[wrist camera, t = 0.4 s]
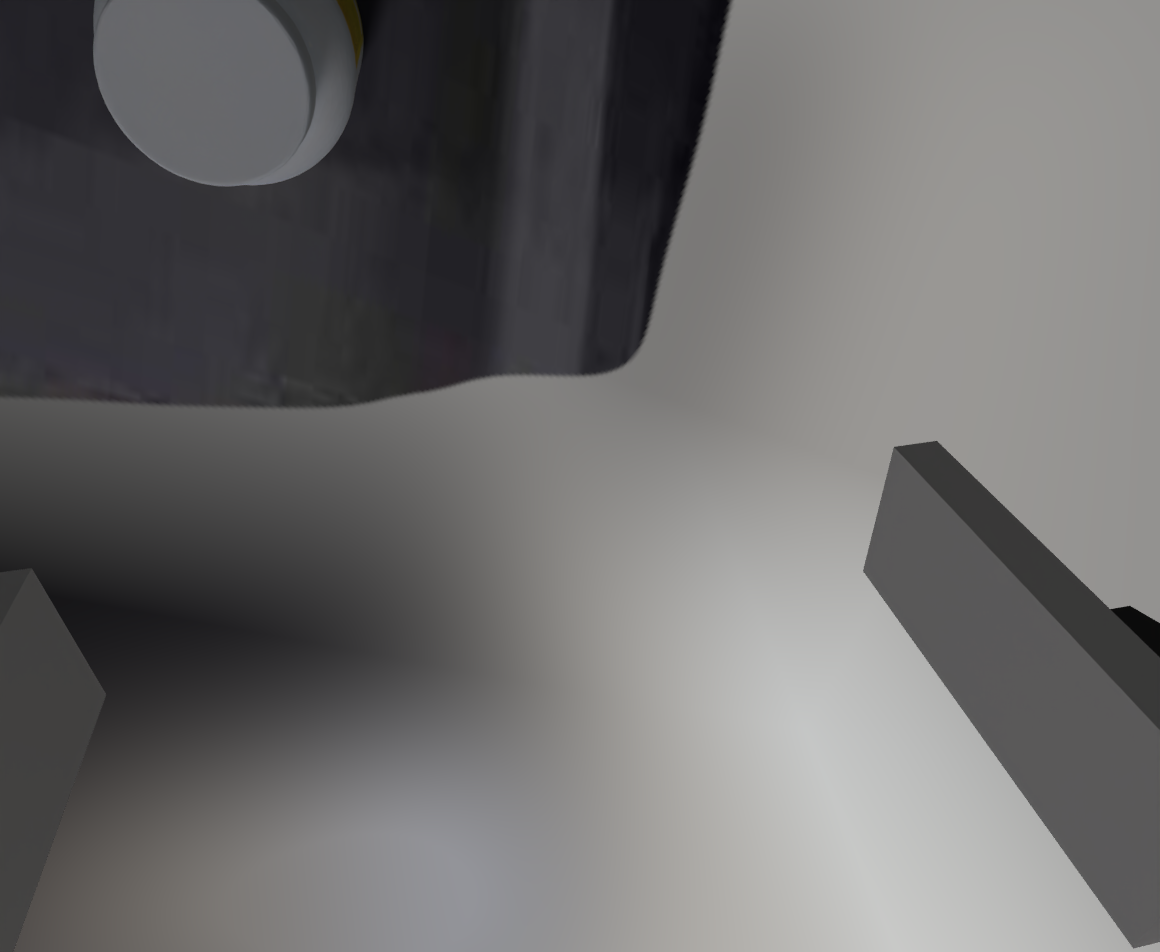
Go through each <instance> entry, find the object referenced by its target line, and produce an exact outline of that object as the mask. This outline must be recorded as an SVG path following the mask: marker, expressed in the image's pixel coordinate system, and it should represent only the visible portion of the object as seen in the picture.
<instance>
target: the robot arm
mask: <svg viewBox="0 0 1160 952" xmlns="http://www.w3.org/2000/svg"><path fill="white" fill-rule="evenodd" d="M863 571H864V573H865V574H866V576H867V577H868V578H869V580H870V581H871V583H872V584H873V585H874V587H875V588H876V590H877V591H878V592H879V594H880V595H881V597H882V598H883V599H884V601H885V602H886V603H887V605H888V606H889V608H890V609H891V611H892V612H893V613H894V615H895V616H896V618H897V619H898V620H899V622H900V623H901V625H902V626H903V627H904V629H905V630H906V632H907V633H908V634H909V636H910V637H911V638H912V640H913V641H914V643H915V644H916V645H917V647H918V648H919V650H920V651H921V652H922V654H923V655H924V657H925V658H926V659H927V661H928V662H929V664H930V665H931V666H932V668H933V669H934V671H935V672H936V673H937V675H938V676H939V678H940V679H941V680H942V682H943V683H944V685H945V686H946V687H947V689H948V690H949V692H950V693H951V694H952V696H953V697H954V699H955V700H956V701H957V703H958V704H959V705H960V707H961V708H962V710H963V711H964V712H965V714H966V715H967V717H968V718H969V719H970V721H971V722H972V724H973V725H974V726H975V728H976V729H977V730H978V732H979V733H980V735H981V736H982V738H983V739H984V740H985V742H986V743H987V745H988V746H989V747H990V749H991V750H992V751H993V753H994V754H995V756H996V757H997V758H998V760H999V761H1000V763H1001V764H1002V766H1003V767H1004V768H1005V770H1006V771H1007V773H1008V774H1009V775H1010V777H1011V778H1012V780H1013V781H1014V782H1015V784H1016V785H1017V787H1018V788H1019V789H1020V791H1021V792H1022V793H1023V795H1024V796H1025V798H1026V799H1027V800H1028V802H1029V803H1030V805H1031V806H1032V807H1033V809H1034V810H1035V812H1036V813H1037V814H1038V816H1039V817H1040V819H1041V820H1042V821H1043V823H1044V824H1045V826H1046V827H1047V828H1048V829H1049V831H1050V833H1051V834H1052V835H1053V837H1054V838H1055V840H1056V841H1057V842H1058V844H1059V845H1060V847H1061V848H1062V849H1063V851H1064V852H1065V854H1066V855H1067V856H1068V857H1069V859H1070V860H1071V862H1072V863H1073V865H1074V866H1075V867H1076V869H1077V870H1078V871H1079V873H1080V874H1081V876H1082V877H1083V879H1084V880H1085V881H1086V883H1087V884H1088V886H1089V887H1090V888H1091V890H1092V891H1093V893H1094V894H1095V895H1096V897H1097V898H1098V900H1099V901H1100V902H1101V904H1102V905H1103V907H1104V908H1105V909H1106V911H1107V912H1108V914H1109V915H1110V916H1111V918H1112V919H1113V921H1114V922H1115V923H1116V925H1117V926H1118V927H1119V929H1120V930H1121V932H1122V933H1123V934H1124V936H1125V937H1126V938H1127V940H1128V941H1129V943H1130V944H1131V945H1132V947H1133V948H1137V947H1141V946H1145V945H1149V944H1153V943H1157V942H1160V623H1159V622H1157V621H1155V620H1153V619H1152V618H1150V617H1148V616H1146V615H1145V614H1143V613H1141V612H1139V611H1138V610H1136V609H1134V608H1133V607H1131V606H1127V607H1121V608H1115V609H1109V608H1108V607H1107V606H1106V605H1105V604H1104V603H1103V602H1102V601H1101V600H1100V599H1099V598H1098V597H1097V596H1096V595H1095V594H1094V593H1093V592H1092V591H1091V590H1090V589H1089V588H1088V587H1087V586H1085V584H1083V582H1081V581H1080V580H1079V579H1078V578H1077V577H1076V576H1075V575H1074V574H1073V573H1072V572H1071V571H1070V570H1069V569H1068V568H1067V567H1066V566H1065V565H1064V564H1063V563H1062V562H1061V561H1060V560H1059V559H1058V558H1057V557H1056V556H1055V555H1054V554H1053V553H1052V552H1050V550H1048V549H1047V548H1046V547H1045V546H1044V545H1043V544H1042V543H1041V542H1040V541H1039V540H1038V539H1037V538H1036V537H1035V536H1034V535H1033V534H1032V533H1031V532H1030V531H1029V530H1028V529H1027V528H1026V527H1025V526H1024V525H1023V524H1022V523H1021V522H1020V521H1019V520H1018V519H1017V518H1015V516H1014V515H1012V514H1011V513H1010V512H1009V511H1008V510H1007V509H1006V508H1005V507H1004V506H1003V505H1002V504H1001V503H1000V502H999V501H998V500H997V499H996V498H995V497H994V496H993V495H992V494H991V493H990V492H989V491H988V490H987V489H986V488H985V487H984V486H983V485H982V484H981V483H980V482H978V481H977V480H976V479H975V478H974V477H973V476H972V475H971V474H970V473H969V472H968V471H967V470H966V469H965V468H964V467H963V466H962V465H961V464H960V463H959V462H958V461H957V460H956V459H955V458H954V457H953V456H952V455H951V454H950V453H949V452H947V450H946V449H944V448H943V447H942V446H941V445H940V444H939V443H938V442H937V441H933V442H926V443H919V444H912V445H905V446H898V447H894V449H893V453H892V457H891V461H890V465H889V470H888V473H887V477H886V481H885V485H884V490H883V493H882V497H881V501H880V505H879V509H878V513H877V517H876V522H875V525H874V530H873V533H872V537H871V542H870V545H869V550H868V554H867V558H866V562H865V566H864V570H863ZM105 696H106V694H105V692H104V690H103V689H102V687H101V686H100V684H99V682H98V680H97V678H96V677H95V675H94V673H93V672H92V670H91V668H90V667H89V665H88V663H87V661H86V660H85V658H84V656H83V655H82V653H81V651H80V650H79V648H78V646H77V645H76V643H75V641H74V639H73V638H72V636H71V634H70V633H69V631H68V629H67V628H66V626H65V624H64V622H63V621H62V619H61V618H60V616H59V614H58V613H57V611H56V609H55V607H54V606H53V604H52V602H51V600H50V599H49V597H48V596H47V594H46V592H45V590H44V589H43V587H42V585H41V584H40V582H39V580H38V578H37V577H36V575H35V573H34V572H33V570H32V569H31V568H29V569H22V570H16V571H8V572H1V573H0V952H13V951H14V948H15V946H16V943H17V940H18V937H19V934H20V932H21V929H22V926H23V923H24V921H25V918H26V915H27V912H28V909H29V907H30V904H31V901H32V899H33V895H34V893H35V890H36V887H37V885H38V882H39V879H40V876H41V873H42V871H43V868H44V865H45V862H46V860H47V857H48V854H49V851H50V848H51V846H52V843H53V840H54V838H55V835H56V832H57V829H58V826H59V824H60V821H61V818H62V815H63V813H64V810H65V807H66V804H67V801H68V799H69V796H70V793H71V790H72V788H73V785H74V782H75V779H76V776H77V774H78V771H79V768H80V765H81V762H82V760H83V757H84V754H85V752H86V749H87V746H88V743H89V741H90V738H91V735H92V732H93V729H94V727H95V724H96V721H97V718H98V715H99V713H100V710H101V707H102V704H103V702H104V699H105Z"/></svg>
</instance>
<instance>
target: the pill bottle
mask: <svg viewBox="0 0 1160 952" xmlns="http://www.w3.org/2000/svg"><path fill="white" fill-rule="evenodd" d="M93 21H94V43H93V56H94V67H95V73H96V77H97V81H98V85H99V89H100V91H101V94H102V96H103V99H104V101H105V103H106V105H107V107H108V109H109V111H110V113H111V115H112V116H113V118H114V120H115V121H116V123H117V124H118V126H119V127H120V128H121V130H122V131H123V132H124V133H125V135H126V136H127V137H128V138H129V139H130V141H131V142H132V143H133V144H134V145H135V146H136V147H137V148H138V149H140V150H141V151H142V152H143V153H144V154H145V155H147V156H148V157H149V158H150V159H152V160H153V161H154V162H156V163H157V164H159V165H160V166H161V167H163V168H165V169H167V170H169V171H170V172H172V173H174V174H176V175H179V176H181V177H183V178H186V179H189V180H192V181H195V182H198V183H203V184H208V185H215V186H238V185H264V184H271V183H276V182H280V181H284V180H287V179H290V178H292V177H295V176H297V175H299V174H301V173H303V172H305V171H306V170H308V169H310V168H311V167H313V166H314V165H315V164H317V163H318V162H319V161H320V160H321V159H322V158H323V157H324V156H325V155H327V153H328V152H329V151H330V150H331V149H332V148H333V146H334V145H335V143H336V142H337V141H338V139H339V137H340V136H341V134H342V132H343V130H344V128H345V126H346V124H347V121H348V119H349V117H350V113H351V109H352V105H353V102H354V95H355V89H356V84H357V79H358V76H359V71H360V67H361V62H362V56H363V43H364V36H363V25H362V19H361V14H360V11H359V7H358V3H357V0H95V4H94V16H93Z"/></svg>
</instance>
